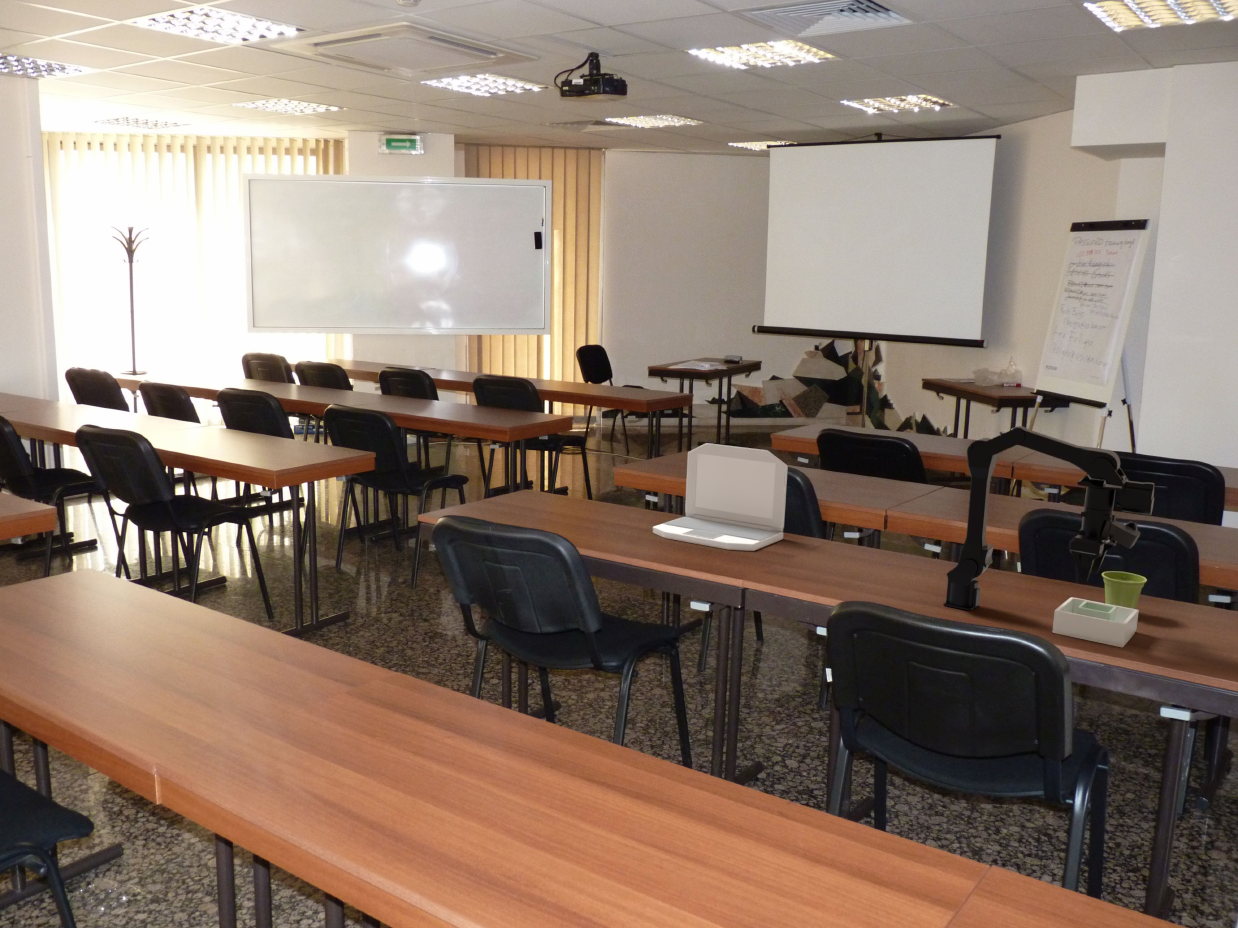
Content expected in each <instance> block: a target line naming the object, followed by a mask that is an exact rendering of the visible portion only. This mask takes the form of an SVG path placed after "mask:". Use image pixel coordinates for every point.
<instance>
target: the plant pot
mask: <svg viewBox="0 0 1238 928" xmlns="http://www.w3.org/2000/svg"><path fill="white" fill-rule="evenodd" d="M1101 577H1102V578H1103V582H1104V597H1105V604H1110V605H1115V606H1121V607H1126V608H1131V609H1136V610H1137V605H1138V604H1139V603H1138V602H1139V599H1140V596H1141V592H1142V588H1144V586H1145V584H1146V583H1147V581H1148V579H1147V578H1146V577H1145V576H1142V575H1139V574H1135V573H1130V572H1126V571H1113V570H1112V571H1111V570H1110V571H1104V572H1102V573H1101Z"/></svg>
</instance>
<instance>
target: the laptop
mask: <svg viewBox="0 0 1238 928" xmlns="http://www.w3.org/2000/svg"><path fill="white" fill-rule="evenodd" d="M686 465H687V466H686V485H685V506H684V507H685V508H684V512H685V516H683V517H679V518H675V519H673V520H670V521H669V520H668V521H666V522H663V523H661V524H658V525H654V526H652V533H653V534H655V535H657V536H659V537H662V538H663V539H667V540H668V539H669V540H675V541H680V542H685V543H691V544H695V545H700V546H706V547H710V548H711V547H712V548H718V549H723V550H728V551H749V552H754V551H756V550H759V549H762V548H764V547H767V546H769V545H771V544H774V543H776V542H779V541H781V540H783V539H784V529H785V515H786V500H787V497H786V496H787V484H788V483H787V481H788V468H789V466H788V465H787V464H786V463H785V462H783V460H781V459H780V458H778V457H777V456H775V454H773V453H772V452H770V451H769V450H768V449H758V448H749V447H744V446H743V447H741V446H733V445H726V444H725V445H724V444H715V443H708V442H706V443H703V444H702V445H700V446H697V447H695V448H693V449H692V450H689V451H688V452H687V462H686Z"/></svg>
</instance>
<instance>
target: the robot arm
mask: <svg viewBox="0 0 1238 928" xmlns="http://www.w3.org/2000/svg"><path fill="white" fill-rule="evenodd" d="M1015 446H1021V447H1023V448H1026V449H1030V450H1032V451H1036V452H1038V453H1041V454H1044V455H1046V456H1047V455H1048V456H1050V457H1053V458H1056V459H1059V460H1062V461H1064V462H1067V463H1069V464H1072V465H1074V466H1075V467H1077V468H1078V469H1080V470H1081V471H1083V472H1085V473H1088V474H1085V476H1084V477H1083V478H1081V479H1080V480H1078V481H1077V482H1076V485H1077V486H1081V487H1086V488H1085V489H1086V490H1085V491H1086V492H1085V498H1084V506H1083V510H1082V511H1081V512H1080V517H1082V519H1081V527H1080V529H1079V530H1078V534H1077V535H1076V536H1074V537H1073V538H1071V539H1069V540H1068V547H1067V549H1068V550H1069V552H1070V553H1071V555H1072V558H1073V560H1074V563H1075V566H1076V569H1077V572H1078V574H1079V578H1080V580H1081V582H1085V583H1087V582H1088V580H1089V579H1090V578H1089V577H1090V574H1095V575H1097V574H1099V571H1100V569H1101V566H1102V564H1103V561H1104V558H1105V556H1106V554H1107V552H1108V550H1110V549H1112V548H1113V547H1115V546H1116V545H1117V543H1119V544H1121V545H1122V546H1123V547H1124V548H1127V549H1131V548H1132V547H1134V546H1135V544H1136V542H1137V540H1139V538H1140V536H1141V531H1139V530H1138V529H1139V528H1138V527H1139V526H1138V523H1136V522H1134V521H1129V522H1127V523H1126V524H1124V523H1123V522H1119V521H1118V520H1116V518H1117V514H1115V513H1114V505H1115V498H1116V497H1115V496H1116V491H1118V492H1117V493H1118V494H1117V499H1116V506H1117V507H1119V508H1120V509H1121V511H1122V512H1127V513H1132V514H1139V515H1140V514H1141V515H1146V516H1152V512H1153V509H1154V502H1155V496H1154V494H1155V483H1154V482H1147V481H1146V482H1140V481H1132V480H1129V478H1128V477H1127V475H1126V474H1125V473H1124V470H1122V468H1121V459H1120V457H1119V455H1118V453H1116V452H1114V450H1111V449H1106V448H1105V449H1104V448H1099V447H1092V446H1082V445H1077V444H1074V443H1070V442H1068V441H1065V440H1062V439H1058V438H1057V437H1053V436H1050V435H1046V434H1044V433H1040V432H1038V431H1034V430H1031V429H1029V428H1027V427H1025V426H1022V425H1018V426H1015V427H1012V428H1011V429H1010V430H1009V431H1006V432H1004V433H1002V434H999V435H997V436H994V437H992V438H990V437H982V438H980V439H978V440H975V441H973V442H971V443H970V444H969V446H968V447H967V450H966V456H967V467H968V470H969V475H970V489H969V490H970V491H969V501H968V502H969V503H968V511H967V512H968V513H967V514H968V515H967V527H966V537H965V540H964V543H963V545H962V548H961V551H960V554H959V558H958V562H957V565H955V566H954V567H953V568H952V569H950V570H949V571H948V572H947V573H946V577H947V585H946V597H945V601H944V602H943V604H942V605H943V606H945V607H951V608H956V609H959V610H965V611H972V610H974V609H975V608H977V607H978V606H979V605H980V596H981V588H980V587H979V580H976V579H978V577H979V576H981V575H982V574H983V573H984V572H985V571H987V569H988V568H989V566H990V565H991V564H992V563H993V557H992V556H993V555H992V554H993V551H994V545H990V544H989V545H988V542H987V538H986V535H987V525H988V524H987V522H988V513H989V511H988V510H989V501H990V490H991V489H990V487H991V478H992V476H993V474H994V470H995V469H996V464H997V462H998V459H999V455H1000V454H1001V453H1003V452H1004V451H1007V450H1009V449H1011V448H1013V447H1015ZM1091 476H1092V477H1095V478H1092V477H1091ZM1106 481H1107V482H1106ZM1107 483H1109V484H1107Z"/></svg>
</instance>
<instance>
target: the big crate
mask: <svg viewBox="0 0 1238 928" xmlns="http://www.w3.org/2000/svg"><path fill="white" fill-rule="evenodd" d="M1084 601H1088V602H1093V603H1098V604H1104V605H1109V606H1114V607H1117V609H1116V617H1115V621H1110V620H1105V619H1100V618H1095V617H1090V616H1085V615H1080V614H1077V610H1078V607H1079V606H1080V605H1081V604H1082V603H1083V602H1084ZM1138 618H1139V609H1137V608H1136V609H1131V608H1126V607H1121V606H1115V605H1110V604H1105V603H1104V602H1099V601H1095V600H1094V601H1093V600H1089V599H1084V598H1079V597H1069V598H1068V599H1067V600H1065V601H1064V602H1063V603H1061V605H1059V606H1058V607H1057V608H1056V609H1055V610H1054V613H1053V623H1052V631H1051V632H1052V634H1053V633H1054V634H1057V635H1062V636H1067V637H1072V638H1077V639H1080V640H1081V639H1082V640H1086V641H1091V642H1095V643H1101V644H1105V645H1109V646H1113V647H1118V648H1119V647H1120V648H1124V646H1125V645H1126V644H1127V643H1128V642H1129V641H1130V640H1131V638H1133V636H1134V635H1135V634H1136V633H1137V626H1138V621H1139V619H1138ZM1135 632H1136V633H1135Z"/></svg>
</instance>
